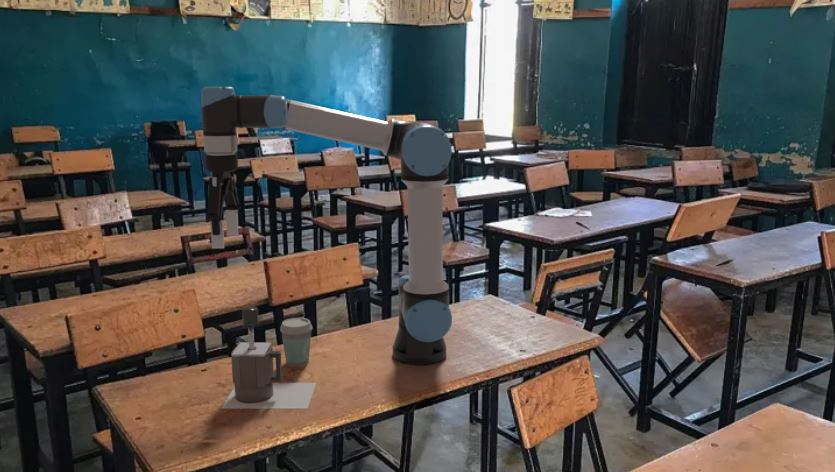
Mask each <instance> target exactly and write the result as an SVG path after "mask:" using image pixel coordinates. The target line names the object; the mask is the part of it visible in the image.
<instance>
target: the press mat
mask: <svg viewBox="0 0 835 472" xmlns="http://www.w3.org/2000/svg"><path fill="white" fill-rule="evenodd" d="M316 386H317V382H273V396H272V397H271V398H270V399H268V400H266V401H263V402H259V403H242V402H239V401H237V400H236V398H235V386H234V387H233V389H232V390H231V392H230V394H229V395H228V397H227V399H226V400H225V402H224V403H223V405H222V407H221V409H237V410H238V409H242V410H243V409H250V410H251V409H255V410H258V409H260V410H262V409H266V410H267V409H270V410H271V409H272V410H275V409H279V410H280V409H281V410H282V409H283V410H289V409H290V410H293V409H295V410H303V409H307V410H308V409H309V407H310V406H309V405H310V403H311V400H312V397H313V395H314V391H315V388H316Z"/></svg>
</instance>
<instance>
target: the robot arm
mask: <svg viewBox="0 0 835 472" xmlns="http://www.w3.org/2000/svg"><path fill="white" fill-rule="evenodd" d="M200 93H201V94H200V96H201V98H200V99H201V100H200V101H201V103H200V104H201V105H200V110H201V122H202V123H201V124H202V136H203V138H202V139H201V141H200V142H201V143H202V144H203V152H204V153H206V154H205V155H204V156H203V157H204V169H205V171H207V172H212V173H213V176H209V179H208V186H209V187H208V189H209V190H208V198H207V199H208V200H207V212H206V216H205V220H206V222H210V225H209V226H210V238H211V239H210V240H211V249H225V234H224V233H225V232H224V220H222V218H223V217H222V216H223V211H224V204H225V207H226V209H225V223H226V224H225V226H226V227H225V228H226V236H227V237H238V236H239V223H238V222H239V221H238V210H241V204H240V201H239V196H238V190H237V186H236V185H237V184H236V179H235V172H234V171H237V170H239V162H238V161H239V160H238V158H239V157H238V155H237V154H236V153H237V152H238V140H237V139H238V138H237V129H244V128H245V129H249V128H251V129H272V130H274V129H282V130H287V131H293V132H295V133H296V132H297V133H301V134H306V135H310V136H314V137H319V138H323V139H327V140H332V141H337V142H341V143H346V144H349V145H355V146H358V147H364V148H368V149H371V150H377V151H381V152H382V154H383V155H384V156H386V157H391V158H394V159H397V160H399V161H400V180H401V182H403V184H404V185H406V188H407V225H408V226H407V228H408V229H407V230H408V231H407V233H408V235H407V236H408V238H407V240H408V241H407V242H408V243H407V244H408V274H405V275H402V276H401V277H399V279H398V284H397V289H398V329H397V333H396V336H395V338H394V342H393V345H392V357H393V358H394V359H395V360H397V361H398V362H401V363H403V364H408V365H419V366H420V365H421V366H422V365H431V364H436V363H439V362H442V361H444V359H446V357H447V343H446V341H445V338H444V337H445V336H446V335H447V334H448V333H449V331H450V329H451V327H452V324H453V314H452V311H451V309H450V286H449V284H448V283H447V282H446V281H445V280H444V276H443V275H444V269H443V268H444V266H443V265H444V260H443V259H444V256H443V254H444V252H443V248H444V246H443V245H444V244H443V241H444V239H443V227H444V226H443V222H444V221H443V187H444V185H445V184H446V183H447V182H448V181H449V164H450V162H451V158H452V155H453V154H452V151H453V150H452V143H451V141H450V139H449V136H448V135H447V134H446V133H445V131H444V130H443V129H442V128H441V127H438V126H437V125H434V124H431V123H427V122H421V121H407V120H406V121H404V120H400V119H399V120H398V119H394V118H391V119H390V120H388V121H385V120H380V119H378V118H372V117H367V116H363V115H359V114H353V113H349V112H345V111H341V110H338V109H337V110H336V109H332V108H328V107H325V106H324V107H323V106H319V105H314V104H311V103H307V102H301V101H297V100H293V99H287V98H286V97H285V96H284V95H276V94H275V95H274V94H268V93H266V94H261V95H242V94H241V95H240V94H236V92H235V89H234V87H232V86H204V87H203V88H202V89H201V92H200Z"/></svg>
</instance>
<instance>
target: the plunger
mask: <svg viewBox="0 0 835 472" xmlns="http://www.w3.org/2000/svg"><path fill="white" fill-rule="evenodd" d="M241 313H242V314H241V316H242V318H241V319H242V327H243V328H244V329H245V328H246V329H248V343H249V350H255V348H254V343H255V333H254V332H255V330H254V328H255V327H258V326H259V309H258V307H256V306H245V307H243V308H242V309H241ZM250 357H255V356H250Z"/></svg>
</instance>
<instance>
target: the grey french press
mask: <svg viewBox="0 0 835 472" xmlns="http://www.w3.org/2000/svg"><path fill="white" fill-rule="evenodd" d="M254 348H255V350H249V341H248V342H246V341H245V342H244V341H243V342H239V343H238V344H237V345H236V346H235V347H234V348H233V350H232V351H231V353H230V357H231V371H232V372H231V373H232V384H234V387H235V398H236V400H237V401H239V402H242V403H259V402H263V401H266V400H268V399H270V398H271V397H272V396H273V383H274V382H281V381H282V379H283V372H282V351H281V350H273V346H272V342H254ZM250 356H255V357H250ZM274 358H275V370H274ZM274 371H275V372H274ZM274 373H275V374H274Z"/></svg>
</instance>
